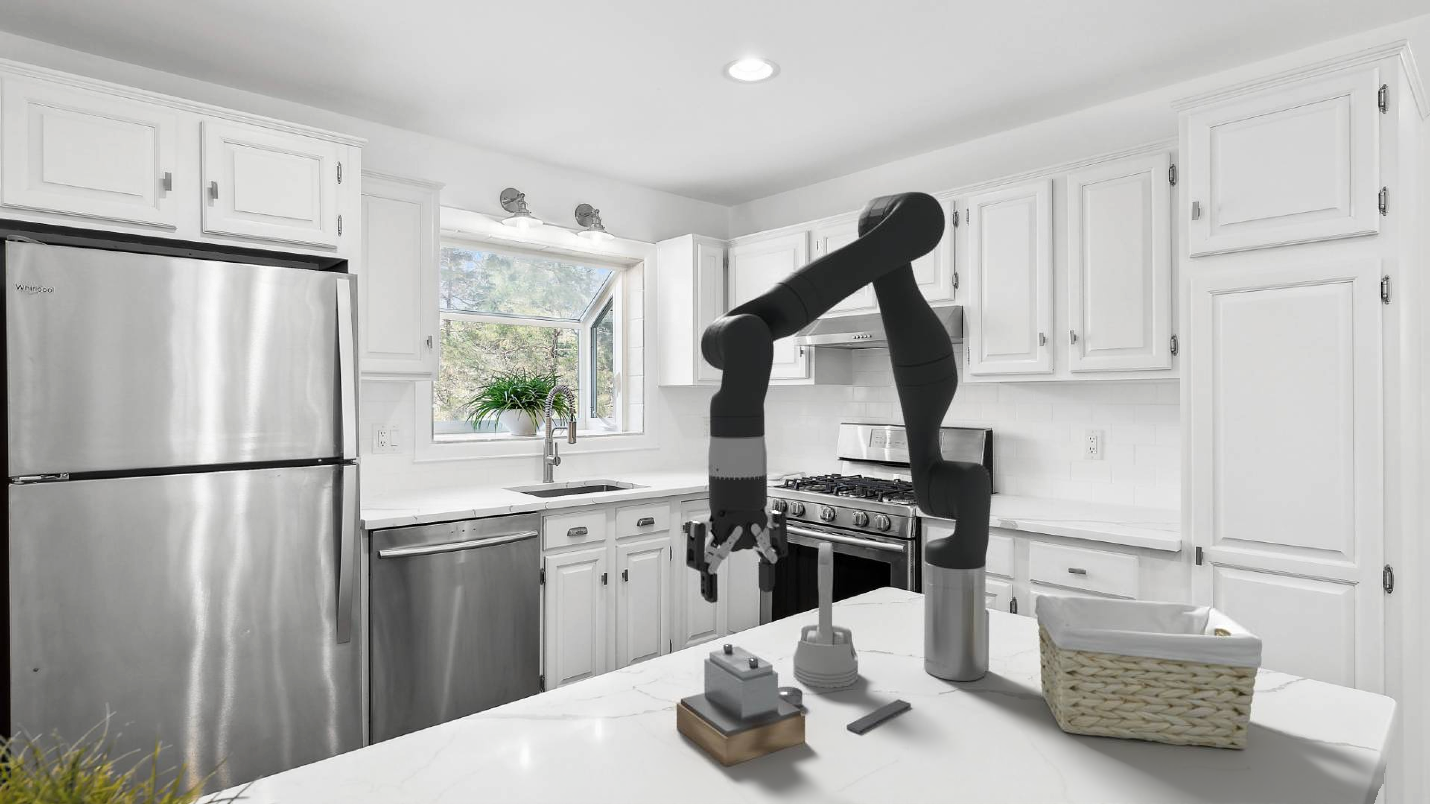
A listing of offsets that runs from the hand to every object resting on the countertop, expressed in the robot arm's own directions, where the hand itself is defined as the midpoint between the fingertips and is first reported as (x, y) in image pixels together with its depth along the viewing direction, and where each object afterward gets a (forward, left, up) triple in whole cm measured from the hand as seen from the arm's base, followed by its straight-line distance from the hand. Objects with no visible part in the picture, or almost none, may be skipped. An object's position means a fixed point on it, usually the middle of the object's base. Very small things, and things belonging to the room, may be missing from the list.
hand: (738, 596), depth 99 cm
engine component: (-23, -10, -18) cm, 31 cm away
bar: (-19, +6, -19) cm, 27 cm away
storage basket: (-47, +26, -19) cm, 57 cm away
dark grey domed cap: (-11, -4, -18) cm, 22 cm away
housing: (0, 0, -14) cm, 14 cm away
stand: (0, 0, -18) cm, 18 cm away
